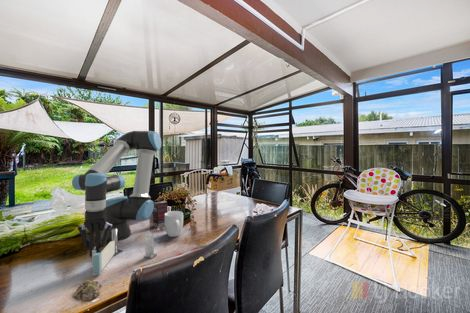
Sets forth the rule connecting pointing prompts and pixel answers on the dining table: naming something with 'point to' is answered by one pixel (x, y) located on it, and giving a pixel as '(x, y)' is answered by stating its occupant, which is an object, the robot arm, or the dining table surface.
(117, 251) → the hinge post
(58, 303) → the dining table surface
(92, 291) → the mineral rock
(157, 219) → the supplement box
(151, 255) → the latch post
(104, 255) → the gate
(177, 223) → the mug
